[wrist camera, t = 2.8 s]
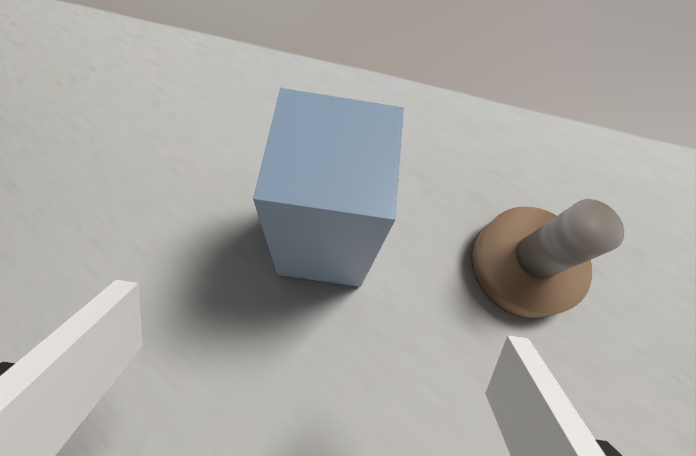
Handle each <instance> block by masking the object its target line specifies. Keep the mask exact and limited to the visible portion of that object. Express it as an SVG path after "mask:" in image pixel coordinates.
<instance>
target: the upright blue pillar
mask: <svg viewBox="0 0 696 456" xmlns="http://www.w3.org/2000/svg"><path fill="white" fill-rule="evenodd" d="M403 110H404V108H403V107H397V106H391V105H384V104H378V103H372V102H365V101H359V100H353V99H346V98H340V97H334V96H328V95H321V94H315V93H309V92H302V91H296V90H290V89H283V88H280V91H279V95H278V99H277V103H276V108H275V112H274V116H273V120H272V124H271V128H270V132H269V136H268V140H267V144H266V148H265V152H264V157H263V161H262V165H261V169H260V173H259V177H258V181H257V185H256V189H255V193H254V197H253V200H254V203H255V206H256V209H257V213H258V216H259V219H260V222H261V225H262V228H263V232H264V235H265V238H266V241H267V244H268V248H269V251H270V254H271V257H272V260H273V263H274V267H275V270H276V273H277V275H279V276H286V277H294V278H301V279H308V280H315V281H322V282H330V283H337V284H344V285H351V286H358V287H361V285H362V283H363V281H364V279H365V277H366V275H367V273H368V271H369V269H370V267H371V266H372V264H373V262H374V260H375V258H376V256H377V254H378V252H379V250H380V248H381V246H382V244H383V242H384V240H385V238H386V237H387V235H388V233H389V231H390V229H391V227H392V225H393V223H394V221H395V217H396V203H397V190H398V176H399V163H400V150H401V136H402V123H403Z"/></svg>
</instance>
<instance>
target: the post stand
mask: <svg viewBox="0 0 696 456" xmlns="http://www.w3.org/2000/svg"><path fill="white" fill-rule="evenodd" d="M623 238H624V227H623V224H622V222H621V220H620V218H619V216H618V215H617V214H616V212H615V211H614V210H613V209H611V208H610V207H609V206H608V205H606V204H604V203H602V202H600V201H597V200H592V199H585V200H581V201H579V202H577V203H576V204H574V205H573V206H571V207H570V208H568V209H567V210H565V211H564V212H562V213H561V214H559V215H558V216H556V215H554V214H553V213H550V212H548V211H546V210H543V209H539V208H534V207H517V208H512V209H509V210H507V211H505V212H503V213H501V214H500V215H498V216H497V217H496V218H495V219H494V220H493V221H491V222H490V223H489V224H488V225H487V226H486V227H485V228H484V229H483V230H482V231H481V232H480V233H479V235H478V237H477V238H476V240H475V243H474V247H473V252H472V262H473V268H474V272H475V275H476V278H477V280H478V282H479V284H480V286H481V287H482V289H483V291H484V292H485V293H486V294H487V296H488V297H489V298H490V299H491V300H492V301H493V302H494V303H496V304H497V305H498V306H499V307H501V308H503V309H504V310H506V311H508V312H510V313H512V314H515V315H517V316H521V317H526V318H541V317H546V316H550V315H553V314H557V313H560V312H564V311H567V310H569V309H571V308H573V307H575V306H576V305H577V304H578V303H580V302H581V301H582V299H583V298H584V297H585V295H586V294H587V292H588V290H589V287H590V284H591V279H592V265H591V259H593V258H595V257H598V256H600V255H602V254H604V253H607V252H609V251H611V250H614V249H615V248H617V247H618V246H619V245H620V244H621V243H622V241H623Z"/></svg>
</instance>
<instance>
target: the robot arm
mask: <svg viewBox="0 0 696 456" xmlns="http://www.w3.org/2000/svg"><path fill="white" fill-rule="evenodd" d="M142 347H143V345H142V330H141V315H140V299H139V284H138V283H135V282H128V281H121V280H115V281H114V282H113V283H112V284H110V285H109V286H108V287H107V288H106V289H104V290H103V291H102V292H101V293H100V294H98V295H97V296H96V297H95V298H94V299H92V300H91V301H90V302H89V303H88V304H86V305H85V306H84V307H83V308H82V309H80V310H79V311H78V312H77V313H76V314H74V315H73V316H72V317H71V318H70V319H68V320H67V321H66V322H65V323H64V324H62V325H61V326H60V327H59V328H58V329H56V330H55V331H54V332H53V333H52V334H50V335H49V336H48V337H47V338H46V339H44V340H43V341H42V342H41V343H40V344H38V345H37V346H36V347H35V348H34V349H32V350H31V351H30V352H29V353H28V354H26V355H25V356H24V357H23V358H22V359H20V360H19V361H18V362H17V363H9V362H1V363H0V456H55V455H56V454H57V453H58V452H59V450H60V449H61V448H62V447H63V445H64V444H65V443H66V442H67V440H68V439H69V438H70V437H71V435H72V434H73V433H74V432H75V430H76V429H77V428H78V427H79V425H80V424H81V423H82V422H83V420H84V419H85V418H86V417H87V415H88V414H89V413H90V412H91V410H92V409H93V408H94V407H95V405H96V404H97V403H98V402H99V400H100V399H101V398H102V397H103V395H104V394H105V393H106V392H107V390H108V389H109V388H110V387H111V385H112V384H113V383H114V382H115V380H116V379H117V378H118V377H119V375H120V374H121V373H122V372H123V370H124V369H125V368H126V367H127V366H128V364H129V363H130V362H131V361H132V359H133V358H134V357H135V356H136V354H137V353H138V352H139V351H140V349H141V348H142ZM485 394H486V396H487V399H488V401H489V403H490V406H491V408H492V411H493V413H494V416H495V418H496V421H497V423H498V425H499V428H500V430H501V433H502V435H503V438H504V440H505V443H506V445H507V448H508V450H509V452H510V455H511V456H622V455H621V454H620V453H619V452H618V451H617V450H616V449H615V448H614V447H613V446H612V445H610V444H609V443H608V442H607V441H603V440H595V439H594V437H593V436H592V434H591V433H590V431H589V430H588V428H587V427H586V425H585V424H584V422H583V421H582V419H581V418H580V416H579V415H578V413H577V412H576V410H575V409H574V407H573V405H572V404H571V402H570V401H569V399H568V398H567V396H566V395H565V393H564V392H563V390H562V389H561V387H560V386H559V384H558V383H557V381H556V380H555V378H554V377H553V375H552V374H551V372H550V371H549V369H548V368H547V366H546V365H545V363H544V362H543V360H542V359H541V357H540V356H539V354H538V352H537V351H536V349H535V348H534V346H533V345H532V343H531V342H530V340H529V339H528V338H521V337H514V336H507V338H506V341H505V343H504V346H503V349H502V351H501V354H500V356H499V359H498V362H497V364H496V367H495V370H494V372H493V375H492V377H491V380H490V383H489V385H488V388H487V391H486V393H485Z"/></svg>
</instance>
